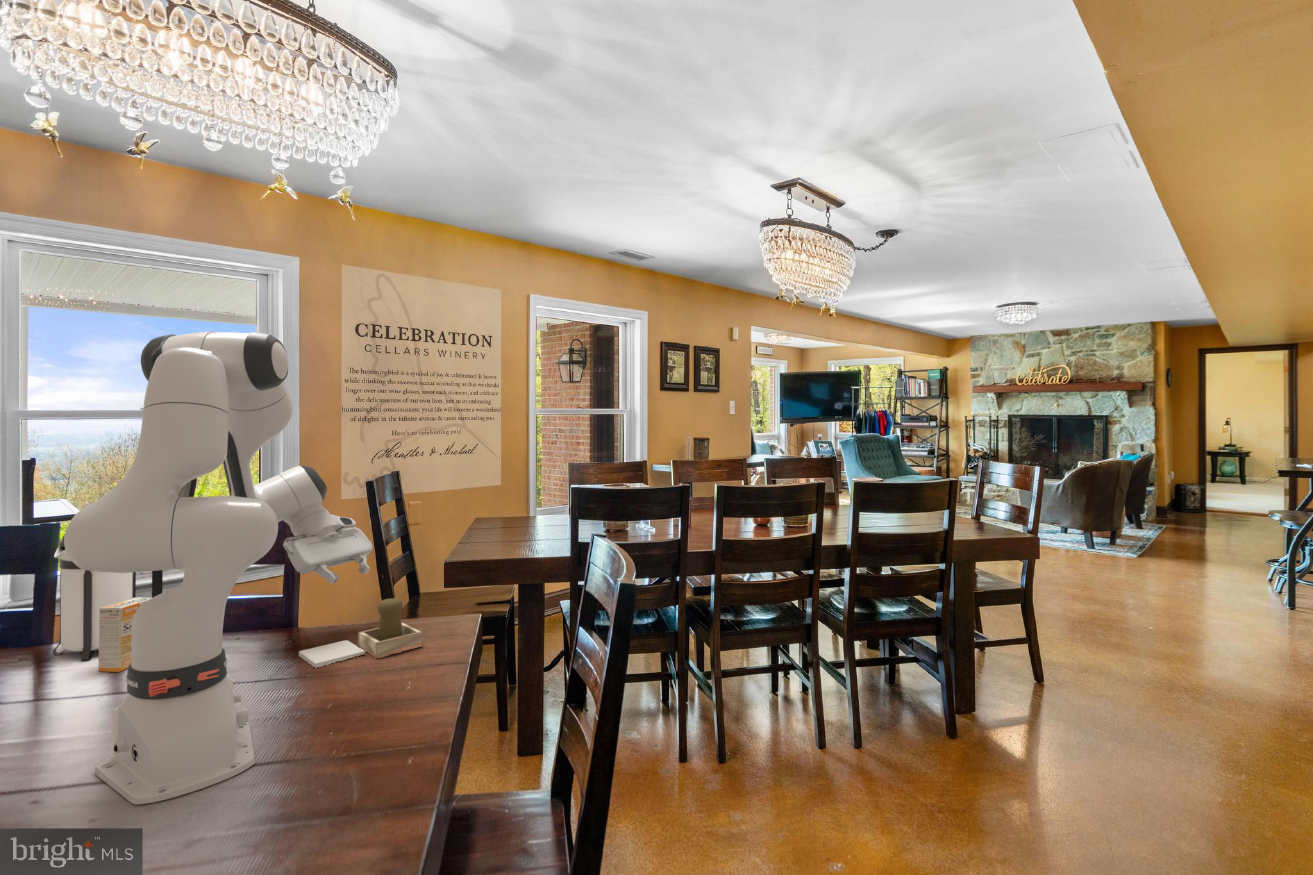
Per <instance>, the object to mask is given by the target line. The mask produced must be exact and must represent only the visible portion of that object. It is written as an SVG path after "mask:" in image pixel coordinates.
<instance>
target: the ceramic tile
mask: <svg viewBox="0 0 1313 875" xmlns="http://www.w3.org/2000/svg"><path fill="white" fill-rule="evenodd" d="M364 653H365V654H366V652H365V651H364V650H363V649H361V648H359V647H358V645H356V644H354V643H352V642H351V641H349V640H347V639H345V640H342V641H341V640H340V641H337V642H332V643H328V644H325V645H323V644H322V645H319V646H316V647H312V648H308V649H302V650H299V651H298V657H299V658H301V659H302V660H303V661H305V662H306V661H307V662H306V663H308V664H309V665H310V666H312V668H314V667H315V668H314V669H318V668H317V667H319V668H323V667H325V666H324V665H326V666H330V665H332V664H331V663H334V664H336V663H335V662H336V661H342V660H345V659H348V658H352V657H354V656H358V655H360V654H364ZM342 662H343V661H342ZM329 664H330V665H329ZM322 666H323V667H322Z"/></svg>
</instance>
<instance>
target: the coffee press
mask: <svg viewBox="0 0 1313 875" xmlns="http://www.w3.org/2000/svg"><path fill="white" fill-rule="evenodd" d="M64 536H65V533H64V534H63V536H62V538H61V540H59V541H58V546H57V548H56V550H55V552H54V555H53V557H54V558H55V559H57V558H59V569H60V574H59V575H60V577H59V578H60V579H59V580H60V584H59V587H60V589H59V593H60V594H59V605H60V606H59V643H57V646H55V648H54V649H53V650H52V654H53V655H54V656H59V655H61V654H63V653H64V652H65V651H69V652H81V655H80V661H81V662H84V661H91V660H92V657H93V654H94V652H95V651H96V650H97V651H99V608H100V607H105V606H108V605H112V604H115V603H118V602H122V601H125V600H129V599H132V598H137V597H136V596H137V594H136V591H137V588H136V587H137V585H136V584H137V582H136V581H137V579H136V578H137V572H131V573H113V572H99V571H89V570H82V569H81V568H79V567H78V566H77V565H75V564H74V563H73V562H72V560H71V559H70V558H69V556H68V554H67V552H66V549H65V545H64ZM163 571H164V570H157V571H151V598H153V597H155V596H157V595H159V594H161V593H163V582H164V581H163V574H164V573H163ZM60 645H61V647H62V648H63V649H64V650H62V651H61V652H58V651H57V649H58V647H60Z"/></svg>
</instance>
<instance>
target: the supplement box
mask: <svg viewBox="0 0 1313 875" xmlns="http://www.w3.org/2000/svg"><path fill="white" fill-rule="evenodd" d="M150 599H152V597H145V596H144V597H139V596H138V597H136V598H132V599H129V600H125V601H122V602H118V603H115V604H112V605H108V606H105V607H100V608H99V649H98V671H99V672H109V673H110V672H111V673H112V672H115V673H120V672H123V671H125V670H128V666H129V665H130V664H131V623H132V619H133V616H134V614H135V613H136V611H137V610H138V609H139V607H140V606H141V605H143V604H144V603H145V602H147V601H148V600H150Z"/></svg>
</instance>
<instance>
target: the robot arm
mask: <svg viewBox="0 0 1313 875" xmlns="http://www.w3.org/2000/svg"><path fill="white" fill-rule="evenodd" d="M140 366H141V370H142V373H143V376H144V378H145V379H146V380H147V386H146V389H145V394H144V401H143V407H142V409H143V410H142V420H141V428H140V429H141V430H140V434H139V435H140V436H139V440H138V445H137V448H136V454H135V457H134V459H133V462H132V464H131V466H130V468H129V469H128V471H127V472H126V473H125V475H124V476H123V478H122V479H121V480H120V481H119V482H118V483H117V484H116V485H115V486H114V487H113V488H111V489H110V491H108V492H107V493H105V494H104V495H103V496H101V497H100V498H98V499H97V500H95V501H93V502H91V503H90V504H87V505H86V506H84V507H83V508H82V509H80V510H79V511H78V512H77V513H76V514H75V515H73V517H72V518H71V520H70V521H69V523H68V524H67V527H66V528H65V532H64V534H65V536H64V535H63V536H64V545H65V549H66V552H67V554H68V556H69V558H70V559H71V560H72V562H73V563H74V564H75V565H77V566H78V567H79V568H81V569H82V570H89V571H99V572H113V573H131V572H136V573H142V572H152V571H157V570H163V571H167V570H169V571H170V570H181V571H183V580H182V582H180V583H179V584H178V585H176V586H174V587H172V588H170V589H168V590H166V591H162V593H161V594H159V595H157V596H155V597H153V598H152V597H151V598H152V599H150V600H148V601H147V602H145V603H144V604H143V605H141V606H140V607H139V609H138V610H137V611H136V613H135V614H134V616H133V619H132V623H131V664H130V665H129V666H128V668H127V672H126V673H127V674H126V676H125V677H126V678H125V682H126V691H127V692H126V693H128V694H127V695H126V697H125V698H124V699H123V700H122V702H120V704H119V705H117V706H116V708H114V710H113V714H112V730H111V748H110V749H111V751H110V756H107V757H106V758H104V759H102V760H101V761H100V762H97V764H96V765H95V768H94V774H95V775H96V776H97V777H98V778H99V779H101V780H102V781H103V782H105V783H106V784H107V785H108V786H110V787H111V788H112V789H113V790H115V791H116V792H117V793H118V794H120V795H121V796H122V797H124V799H125V800H127V801H129V802H130V803H131V804H133V805H145V804H150V803H157V802H162V801H165V800H169V799H172V798H177V797H180V796H183V795H186V794H189V793H192V792H196V791H198V790H201V789H205V788H207V787H210V786H213V785H216V784H217V783H220V782H223V781H225V780H227V779H230V778H232V777H234V776H236V775H239V774H240V773H242V772H244V771H246V770H248V769H249V768H251V767H252V766H253V765H255V763H256V760H255V759H256V758H255V751H254V746H253V740H252V739H253V737H252V733H251V732H252V731H251V726H250V725H251V724H250V722H249V707H247V706H245V707H240V708H237V709H236V708H235V703H236V704H237V703H239V702H240V703H241V700H242V694H241V692H236V693H234V679H232V678H231V677H228V671H227V665H228V661H227V660H228V658H227V656H226V650H225V648H223V634H224V633H223V630H224V618H225V610H226V605H227V601H228V598H229V595H230V593H231V592H232V589H233V588H234V586H235V584H236V583H237V581H238V579H239V578H240V577H241V576H242V575H243V574H244V573H245V571H247V570H248V569H249V568H250V567H251V566H252V565H253V564H255V563H256V562H257V561H259V560H260V559H262V558H263V557H264V556H266V555H267V553H269V551H270V550H271V549H272V547H273V546H274V544H275V542H276V540H277V537H278V533H279V523H280V522H282V521H283V522H285V523H286V524H287V525H288V526H289V527H290V531H291V533H292V534H293V536H289V537H286V538H285V539H284V540H283V542H282V546H283V548H284V550H285V551H286V553H287V557H288V559H289V561H290V563H291V564H292V566H293V567H294V570H295V571H296V572H297V573H299V574H301V575H304V574H305V575H306V574H308V573H309V574H310V573H312V572H314V573H316V574H317V575H318V576H320V577H321V578H324V579H325V580H326V581H327V582H328V584H330V585H331V584H334V583H337V581H338V580H339V579H340V576H339V575H338V574H337V573H336V572H335V571H334V572H332V571H331V570H329V568H331V567H336V566H339V565H343V564H346V563H347V564H348V563H351V562H355V564H358V566H359V568H357V570H358V572H359V573H360V575H365V574H367V573H368V572H370V570H371V568H370V566H369V564H367V563H368V561H367V557H368V556H369V555H370V554H371V552H373V548H374V546H373V544H372V542H371V541H370V539H369V538H368V537H367V535H366V534H365V533H364V532H363V531H362V530H361V529H360V528H359V527H356V524H357V522H356V521H355V519H353V518H352V517H347V516H346V517H344V516H339V515H334V514H331V513H330V511H328V510H327V509H326V508H325V507H324V506H323V504H322V503H323V502H324V500H325V499H326V498H325V497H326V494H327V491H328V487H327V484H326V482H325V481H324V480H323V479H322V477H321V476H320V475H319V473H318V472H317V471H316V469H315V468H313V467H311V466H307V465H303V464H302V465H301V464H300V465H296V466H293V467H291V468H288V469H287V470H285V471H283V472H280V473H278V474H277V475H274V476H273V477H270V478H268V479H266V480H263V481H261V482H259V483H257V484H254V481H253V475H252V469H251V461H252V460H253V457H254V456H255V455H256V454H257V452H259V451H260V449H262V448H263V447H264V446H265V445H266V444H267V443H268V442H270V441H271V440H272V439H273V438H275V437H276V436H277V435H279V434H280V433H281V432H282V431H283V430H284V429H285V428H286V427H287V425H288V423H289V422H290V421H291V419H292V414H293V404H292V400H291V396H290V394H289V390H288V388H287V385H286V384H285V380H286V379H287V377H288V373H289V358H288V355H287V351H286V348H285V346H284V344H283V343H282V342H281V341H280V340H279V339H278V338H276V336H274V335H273V334H269V333H264V332H258V331H257V332H256V331H250V332H249V333H248V332H231V331H228V332H226V331H225V332H224V331H219V332H216V331H200V332H191V333H184V334H178V335H177V334H174V333H173V334H172V333H171V334H167V335H161V336H158V337H157V336H156V337H154V338H152V339H151V340H149V342H147V344H146V345H145V346H144V348H143V349H142V351H141V355H140ZM220 466H223V469H224V473H225V478H226V483H227V489H228V492H229V495H222V496H221V495H219V496H217V495H216V496H213V495H210V496H188V497H187V496H185V497H183V496H182V497H181V496H178V495H179V492H180V491H181V489H182V488H183V487H184V486H185V485H187V484H188V483H189V482H192V481H193V480H195V479H198V478H199V477H202V476H205V475H208V474H210V473H211V472H214V471H215V470H217V469H218V468H219V467H220Z"/></svg>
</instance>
